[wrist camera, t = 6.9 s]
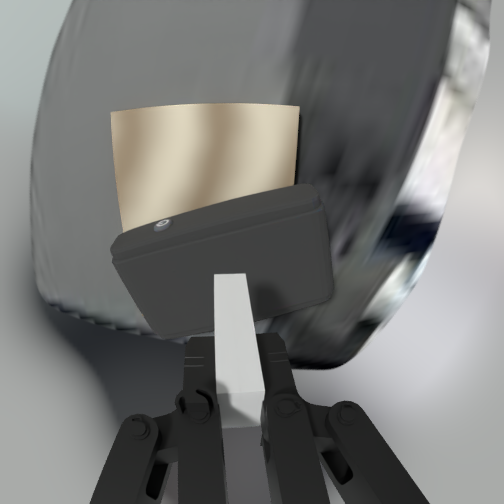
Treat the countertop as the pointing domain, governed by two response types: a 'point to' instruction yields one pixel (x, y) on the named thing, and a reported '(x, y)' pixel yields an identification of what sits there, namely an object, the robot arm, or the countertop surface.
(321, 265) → the card reader
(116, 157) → the birch board
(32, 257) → the countertop surface
